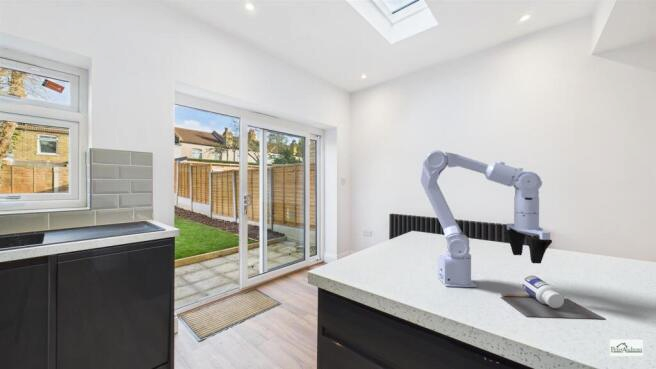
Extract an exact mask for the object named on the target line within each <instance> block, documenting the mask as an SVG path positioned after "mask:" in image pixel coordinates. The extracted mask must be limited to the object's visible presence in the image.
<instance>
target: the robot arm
mask: <svg viewBox="0 0 656 369" xmlns="http://www.w3.org/2000/svg"><path fill="white" fill-rule="evenodd" d="M447 167H448V168H456V167H460V168H463V169H466V170H470V171H474V172H476V173H481V174H483V175H484V176H485V178H486V179H487V180H488V181H491V182H495V183H497V184H500V185H503V186H506V187H513V188H514V197H513V203H514V207H513V209H514V210H513V211H514V212H513V214H514V215H513V222H514V223H506V230H507V231H505V230H504V236H505V237H506V238H507V240H508V242H509V245H510V248H511V253H512V254H513V256H522V255H523V248H524V242H525V241H526V243H527V244H528V249H529V255H530V256H529V257H530V261H531V264H541V263H542V261H543V259H544V255H545V253H546V251H547V250H548V248H549V246H551V244H552V242H553V240H552V239H551V232H548V231H546V230H543V227H540V197H539V194H540V191H539V190H540V188H541V187H542V185H543V181H542V179H541V177H540V175H538V174H537V173H536V172H533V171H524V168H523V167H518V168H516V167H515V166H510V165H507V164H506V162H504V161H499V162H492V163H490V164H488V163H485V162H482V161H478V160H476V159H472V158H469V157H466V156H464V155H461V154H457V153H454V152H453V153H452V152H448V151H445V152H443V151H441V150H431V151H430V152H428V154H427V155H426V156H425V158H424V160H423V161H422V170H421V176H420V182H421V185H422V187H423V190H424V191H425V194H426V197H427V198H428V201H429V202H430V205H431V206H432V209H433V211H434V213H435V215H436V218H437V219H438V222H439V223H440V225H441V228H442V231H443V234H444V237H445V239H446V244H447V245H446V249H447V251H446V252H445V254H440V255H439V256H438V258H437V260H438V261H437V276H436V277H437V279H439V280H440V282H442V284H443V285H444V286H445V287H452V288H453V287H455V288H456V287H458V288H460V287H461V288H462V287H463V288H477V287H478V285H477V284H475V283H474V282H473V281H472V254H470V250H471V249H470V248H471V247H470V239H469V238H468V236H467V235H465V234H464V233H463V232H462V229H461V228H460V226H459V225H458V223H457V221H456V219H455V216H454V215H453V213H452V210H451V209H450V206H449V205H448V202H447V201H446V198H445V196H444V194H443V192H442V190H441V188H440V186H439V184H438V180H439V178H440V175H441V173H442V172H443V171H444V170H445V169H446V168H447ZM527 236H529V237H527Z"/></svg>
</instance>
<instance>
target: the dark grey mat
mask: <svg viewBox="0 0 656 369" xmlns="http://www.w3.org/2000/svg"><path fill="white" fill-rule="evenodd" d="M500 294H501V296H500V299H502V300H503V301H504V302H506V303H507V304H508V305H510V306H511V307H512V308H514V309H515V310H516V311H518V312H519V313H520V314H522V315H523V316H524V317H526V318H546V319H547V318H549V319H551V318H552V319H576V320H577V319H579V320H580V319H581V320H606V317H603V316H601V315H599V314H598V313H596V312H594V311H592V310H590V309H588V308H586V307H585V306H583V305H581V304H579V303H576V302H575V301H573V300H571V299H569V298H565V297H564V296H563V298H564V303H563V305H562V306H561V307H559V308H552V307H550V306H549V305H547V304H543V303H541V302H539V301H538V300H536V299H535V298H534V297H532V296H531V295H530V294H528V293H525V294H523V293H522V294H521V293H500Z"/></svg>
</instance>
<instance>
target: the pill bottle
mask: <svg viewBox="0 0 656 369" xmlns="http://www.w3.org/2000/svg"><path fill="white" fill-rule="evenodd" d="M520 285H521V286H520V287H521V288H522V289H523V291H524V292H526V294H530V295H531V296H532V297H534V298H535V299H536V300H538V301H539V302H541V303H543V304H547V305H549V306H550V307H552V308H559V307H561V306H562V305H563V303H564V299H565V297H564V296H562V295H561V294H560V293H558V291H557V289H556V288H554V286H552V285H550V284H549V283H547V282H546V281H544V280H542V279H541V278H539V277H538V276H535V275H534V274H533V275H532V274H531V275H530V274H529V275H527V276H525V277H523V278H522V280H521V283H520ZM563 297H564V298H563Z"/></svg>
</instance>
